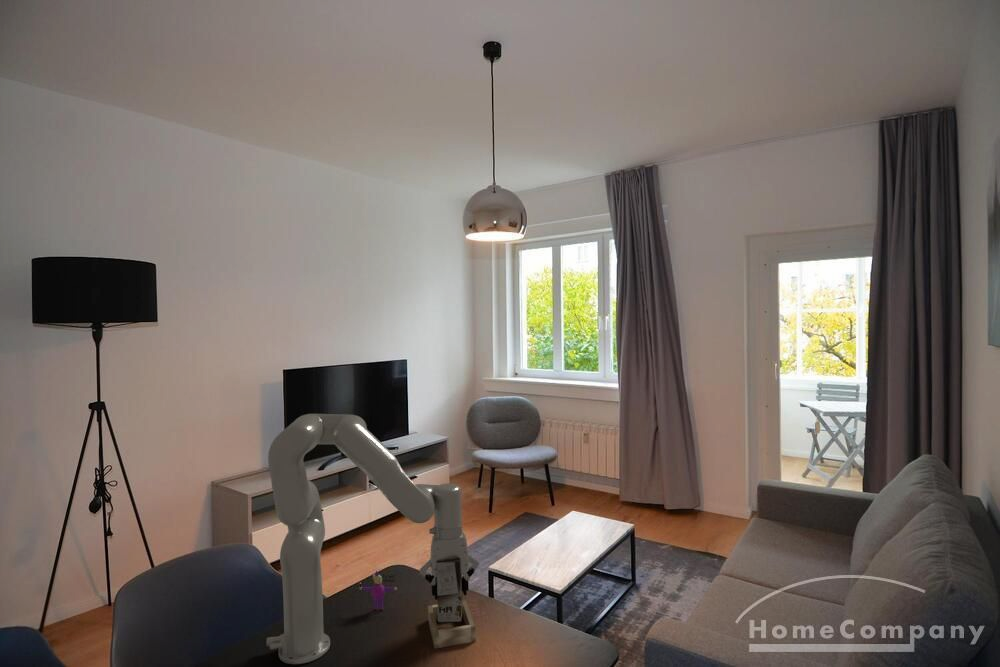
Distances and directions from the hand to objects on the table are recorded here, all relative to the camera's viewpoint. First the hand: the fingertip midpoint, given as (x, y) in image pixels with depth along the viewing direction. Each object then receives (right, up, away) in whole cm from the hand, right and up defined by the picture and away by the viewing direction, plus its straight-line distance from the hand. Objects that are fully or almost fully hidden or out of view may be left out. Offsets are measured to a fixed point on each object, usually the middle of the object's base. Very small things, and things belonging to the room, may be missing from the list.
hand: (450, 594), depth 146 cm
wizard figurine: (-22, -10, +11) cm, 27 cm away
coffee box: (0, -5, 0) cm, 5 cm away
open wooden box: (0, -10, 0) cm, 10 cm away
